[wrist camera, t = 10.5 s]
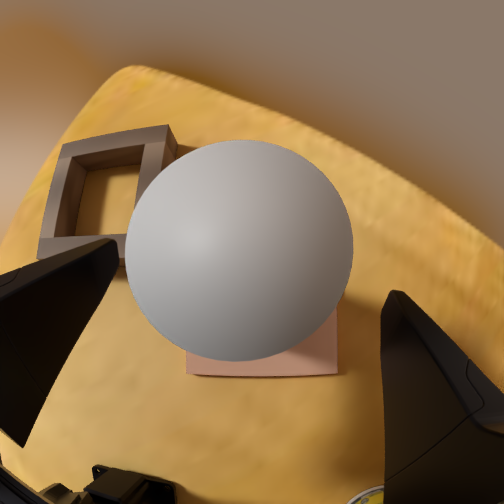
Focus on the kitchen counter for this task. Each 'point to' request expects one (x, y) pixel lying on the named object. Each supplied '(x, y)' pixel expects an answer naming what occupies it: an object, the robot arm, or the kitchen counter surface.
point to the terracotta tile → (281, 358)
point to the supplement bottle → (369, 496)
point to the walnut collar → (93, 158)
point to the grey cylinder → (239, 250)
